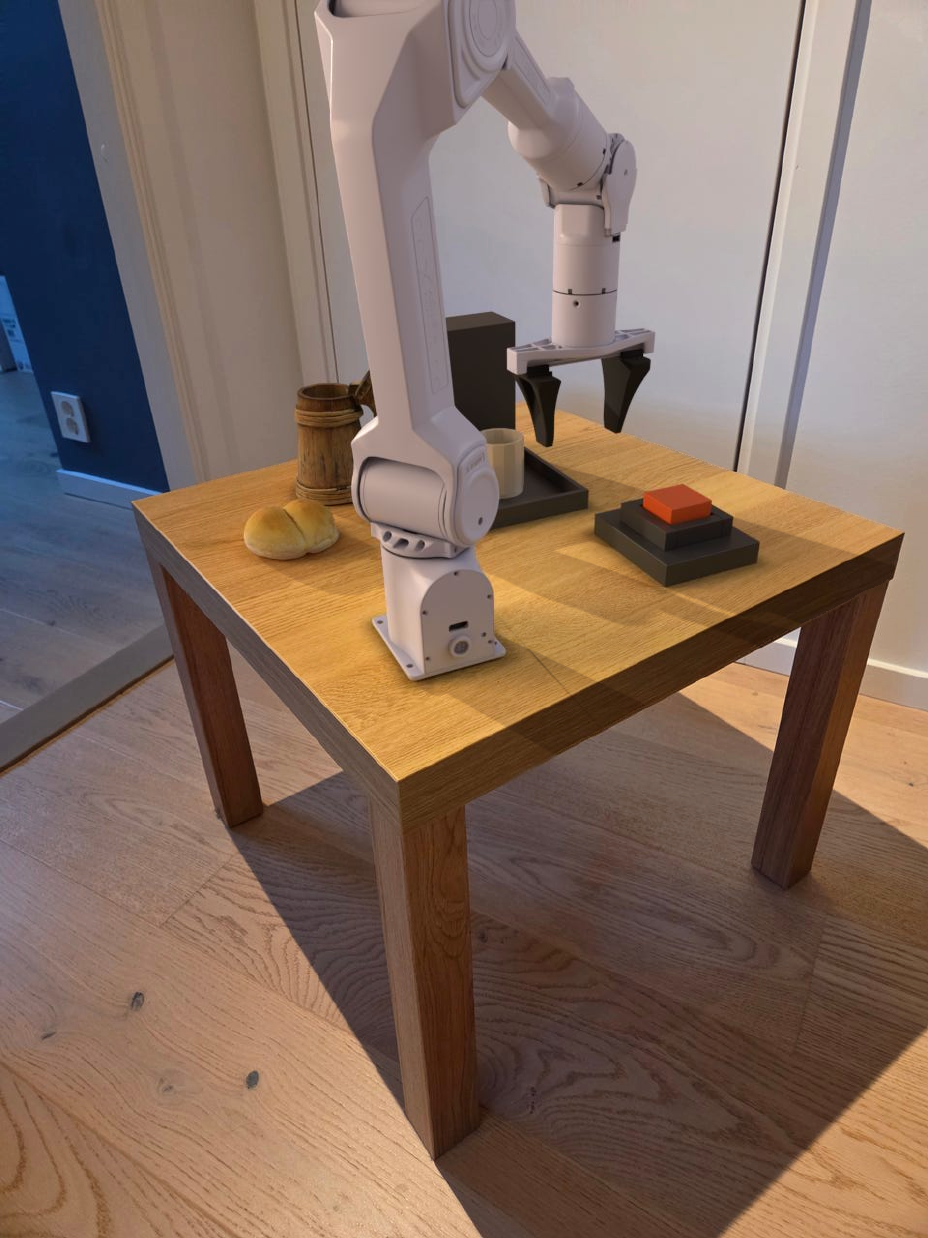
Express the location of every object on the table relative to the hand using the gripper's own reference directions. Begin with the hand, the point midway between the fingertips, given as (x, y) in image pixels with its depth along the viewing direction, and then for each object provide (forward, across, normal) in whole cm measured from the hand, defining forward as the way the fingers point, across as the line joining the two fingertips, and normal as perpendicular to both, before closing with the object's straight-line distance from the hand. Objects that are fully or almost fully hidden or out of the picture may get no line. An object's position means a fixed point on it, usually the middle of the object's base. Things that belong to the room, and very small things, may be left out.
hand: (578, 436), depth 82 cm
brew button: (+5, -5, +10) cm, 12 cm away
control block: (+9, -5, +10) cm, 14 cm away
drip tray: (+9, +4, -9) cm, 13 cm away
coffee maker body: (+9, +4, -20) cm, 22 cm away
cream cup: (+8, +4, -9) cm, 13 cm away
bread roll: (+9, +27, -8) cm, 30 cm away
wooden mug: (+9, +18, -18) cm, 27 cm away
